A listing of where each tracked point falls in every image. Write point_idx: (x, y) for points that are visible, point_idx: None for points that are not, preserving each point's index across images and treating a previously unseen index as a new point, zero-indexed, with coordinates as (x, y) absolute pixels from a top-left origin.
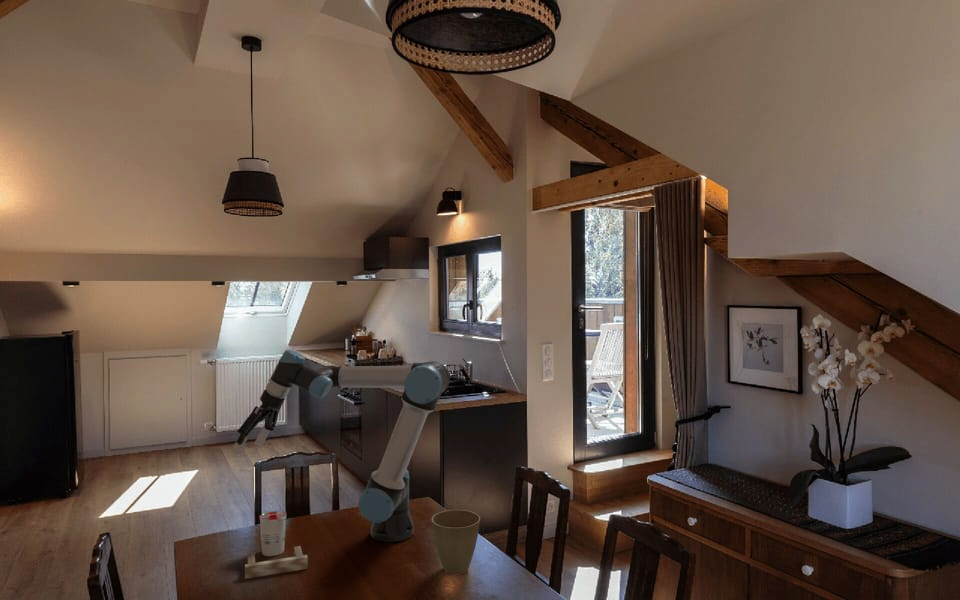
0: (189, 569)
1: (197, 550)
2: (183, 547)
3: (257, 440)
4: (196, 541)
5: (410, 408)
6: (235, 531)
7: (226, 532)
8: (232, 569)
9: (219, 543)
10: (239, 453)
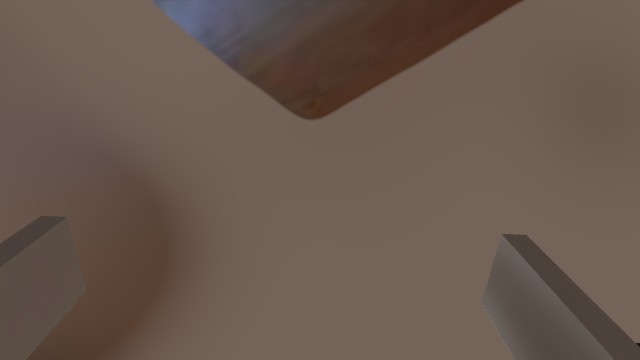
0: (490, 7)
1: (362, 61)
2: (346, 102)
3: (47, 313)
4: (306, 95)
5: None
6: (210, 35)
7: (227, 57)
8: None
9: (308, 30)
10: (509, 238)
